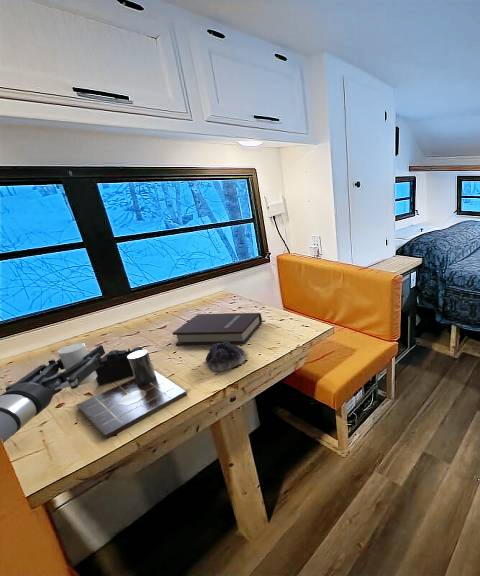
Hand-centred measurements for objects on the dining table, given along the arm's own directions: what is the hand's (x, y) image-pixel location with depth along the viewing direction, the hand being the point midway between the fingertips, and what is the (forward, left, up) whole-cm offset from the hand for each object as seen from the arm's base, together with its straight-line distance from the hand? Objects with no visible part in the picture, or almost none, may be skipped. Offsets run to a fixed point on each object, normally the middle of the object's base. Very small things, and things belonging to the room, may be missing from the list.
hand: (90, 350), depth 86 cm
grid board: (+6, +4, -18) cm, 19 cm away
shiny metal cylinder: (0, +10, -17) cm, 19 cm away
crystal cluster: (+11, +31, -18) cm, 37 cm away
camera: (-15, +9, -18) cm, 25 cm away
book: (-12, +43, -18) cm, 48 cm away
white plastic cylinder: (+4, -4, -6) cm, 8 cm away
